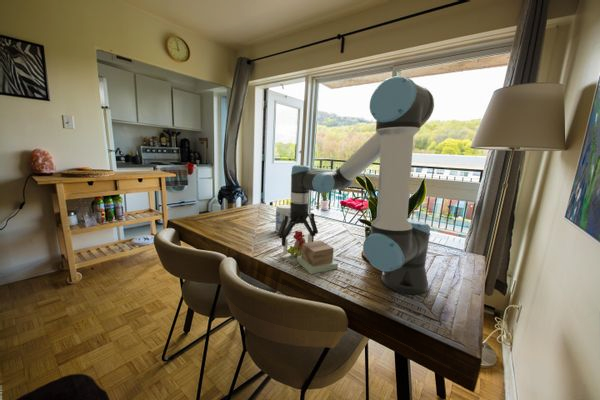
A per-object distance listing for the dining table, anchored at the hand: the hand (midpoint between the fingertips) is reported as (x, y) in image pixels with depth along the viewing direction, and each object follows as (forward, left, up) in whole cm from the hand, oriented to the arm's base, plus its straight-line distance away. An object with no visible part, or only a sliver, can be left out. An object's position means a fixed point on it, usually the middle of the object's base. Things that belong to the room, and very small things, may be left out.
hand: (297, 250), depth 107 cm
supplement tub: (+31, -6, -2) cm, 32 cm away
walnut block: (-12, -3, 0) cm, 12 cm away
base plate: (-12, -3, -2) cm, 12 cm away
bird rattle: (0, 0, -2) cm, 2 cm away
